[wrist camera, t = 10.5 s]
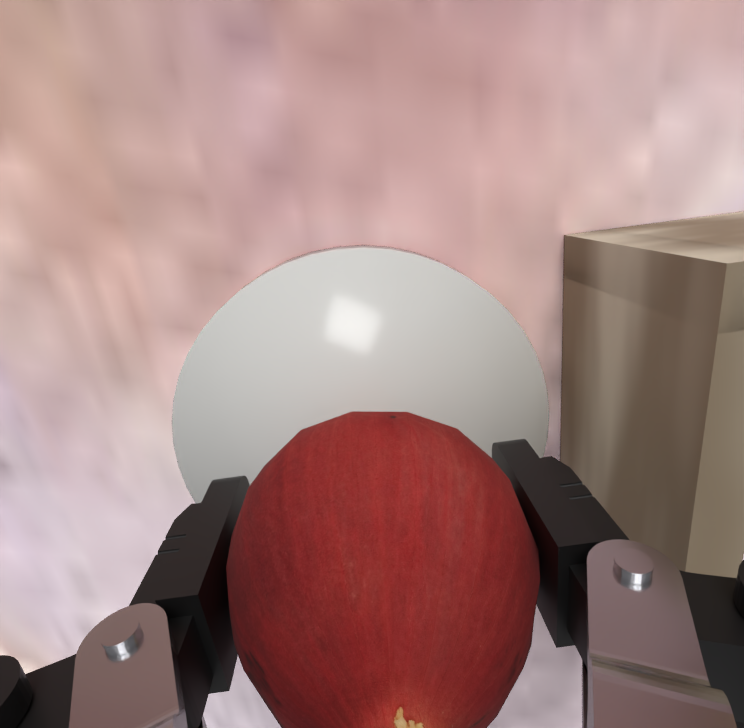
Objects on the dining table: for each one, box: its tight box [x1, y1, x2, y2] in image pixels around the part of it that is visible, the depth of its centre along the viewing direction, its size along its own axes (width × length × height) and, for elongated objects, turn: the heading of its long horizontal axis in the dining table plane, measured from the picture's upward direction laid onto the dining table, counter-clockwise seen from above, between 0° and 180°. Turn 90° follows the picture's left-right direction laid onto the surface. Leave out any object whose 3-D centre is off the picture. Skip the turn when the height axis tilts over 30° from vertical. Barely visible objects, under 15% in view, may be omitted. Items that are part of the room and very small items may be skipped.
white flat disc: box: [172, 245, 549, 503], centre depth 14 cm, size 11×11×1 cm
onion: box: [226, 411, 540, 728], centre depth 9 cm, size 6×6×8 cm
